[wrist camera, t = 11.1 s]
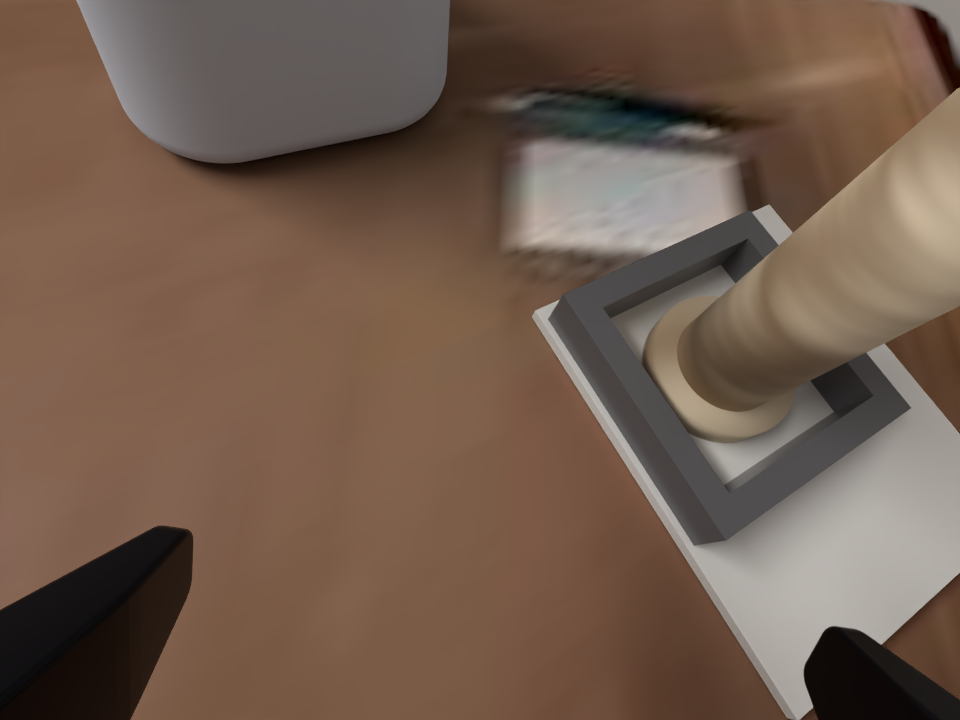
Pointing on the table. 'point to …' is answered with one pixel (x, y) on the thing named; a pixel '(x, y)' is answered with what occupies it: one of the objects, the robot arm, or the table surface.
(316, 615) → the table surface
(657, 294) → the collar board
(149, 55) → the plastic bottle
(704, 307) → the peg
